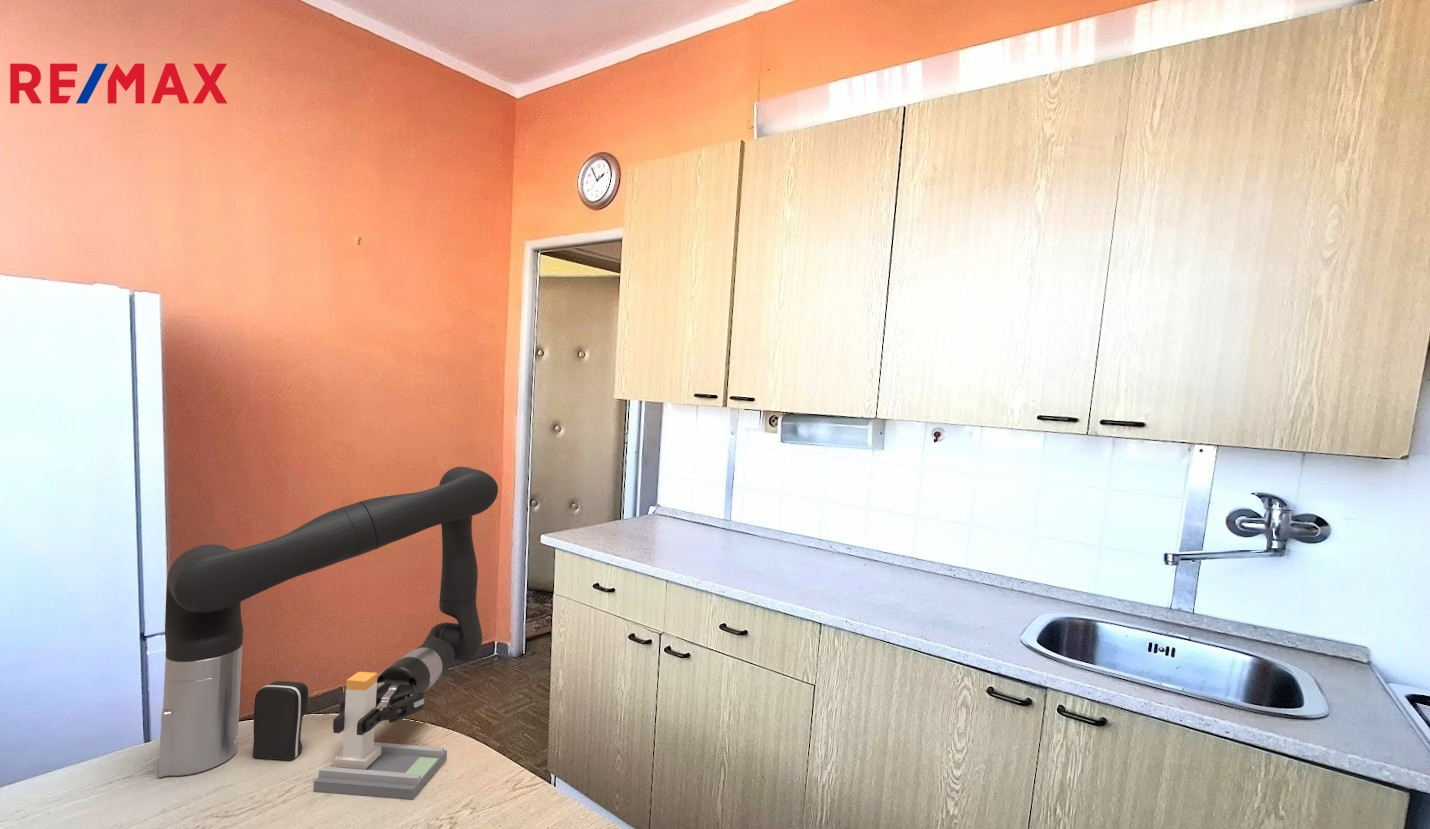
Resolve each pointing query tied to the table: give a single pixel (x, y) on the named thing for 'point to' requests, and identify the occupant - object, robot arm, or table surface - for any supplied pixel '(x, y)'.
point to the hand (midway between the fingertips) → (348, 727)
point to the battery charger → (279, 720)
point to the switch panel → (385, 773)
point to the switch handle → (357, 705)
